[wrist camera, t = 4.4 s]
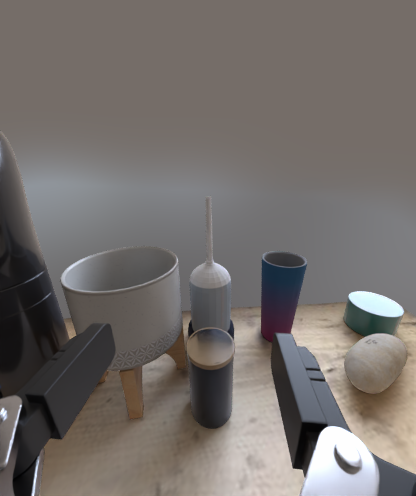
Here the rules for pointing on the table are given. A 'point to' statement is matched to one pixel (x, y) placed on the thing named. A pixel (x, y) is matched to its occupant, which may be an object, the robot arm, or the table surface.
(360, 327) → the squat tin
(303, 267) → the cup
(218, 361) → the tall tin
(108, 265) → the planter
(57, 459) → the table surface
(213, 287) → the white tall piece
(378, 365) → the stone
